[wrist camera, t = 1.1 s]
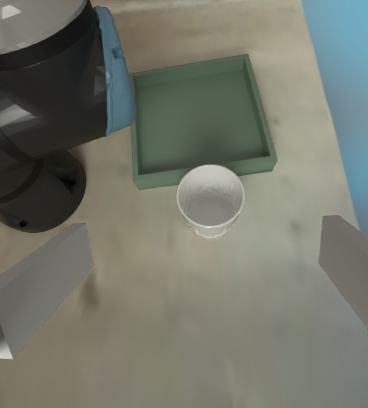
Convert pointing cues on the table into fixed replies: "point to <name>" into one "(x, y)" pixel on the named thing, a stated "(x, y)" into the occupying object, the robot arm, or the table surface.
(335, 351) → the table surface
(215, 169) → the white cup
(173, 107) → the green box
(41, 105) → the robot arm
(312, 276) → the table surface
